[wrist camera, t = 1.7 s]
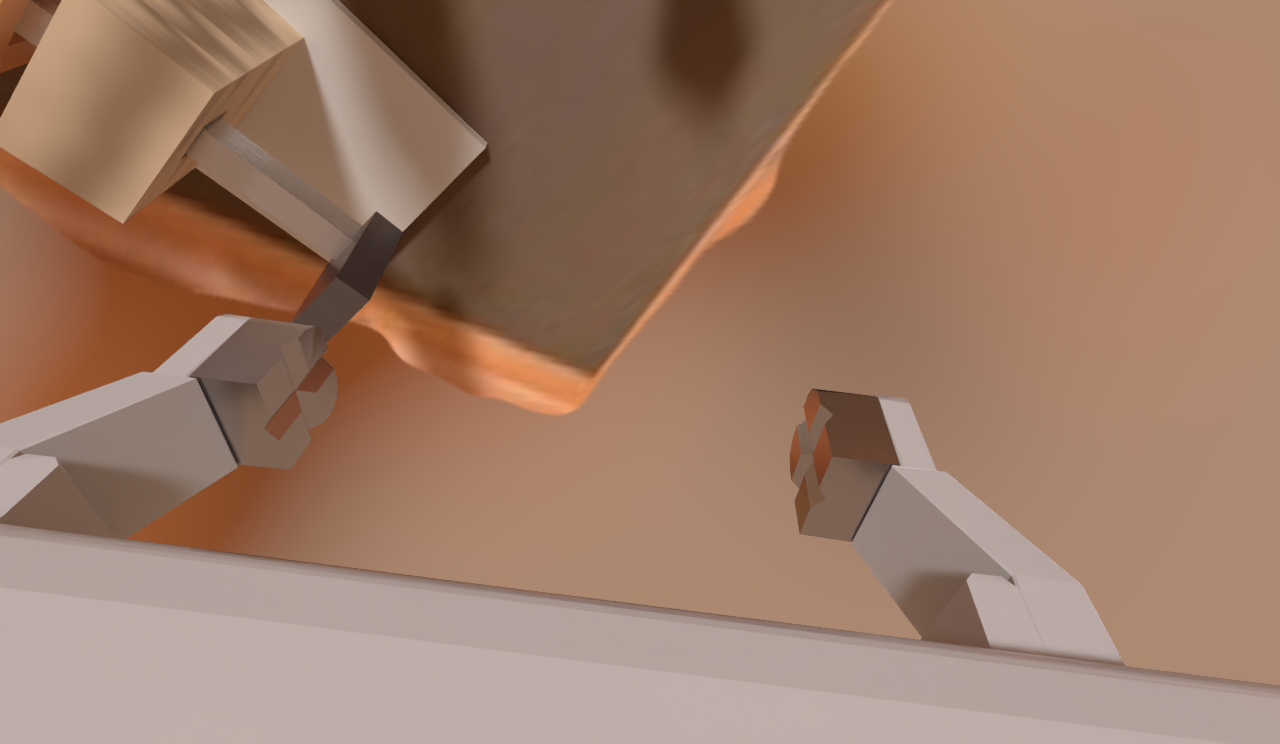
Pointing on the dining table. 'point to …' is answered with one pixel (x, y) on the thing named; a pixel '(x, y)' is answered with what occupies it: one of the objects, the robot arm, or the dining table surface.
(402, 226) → the base board
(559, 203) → the dining table surface
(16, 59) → the block
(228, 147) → the shaft
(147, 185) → the bearing block
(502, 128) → the dining table surface
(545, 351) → the dining table surface
